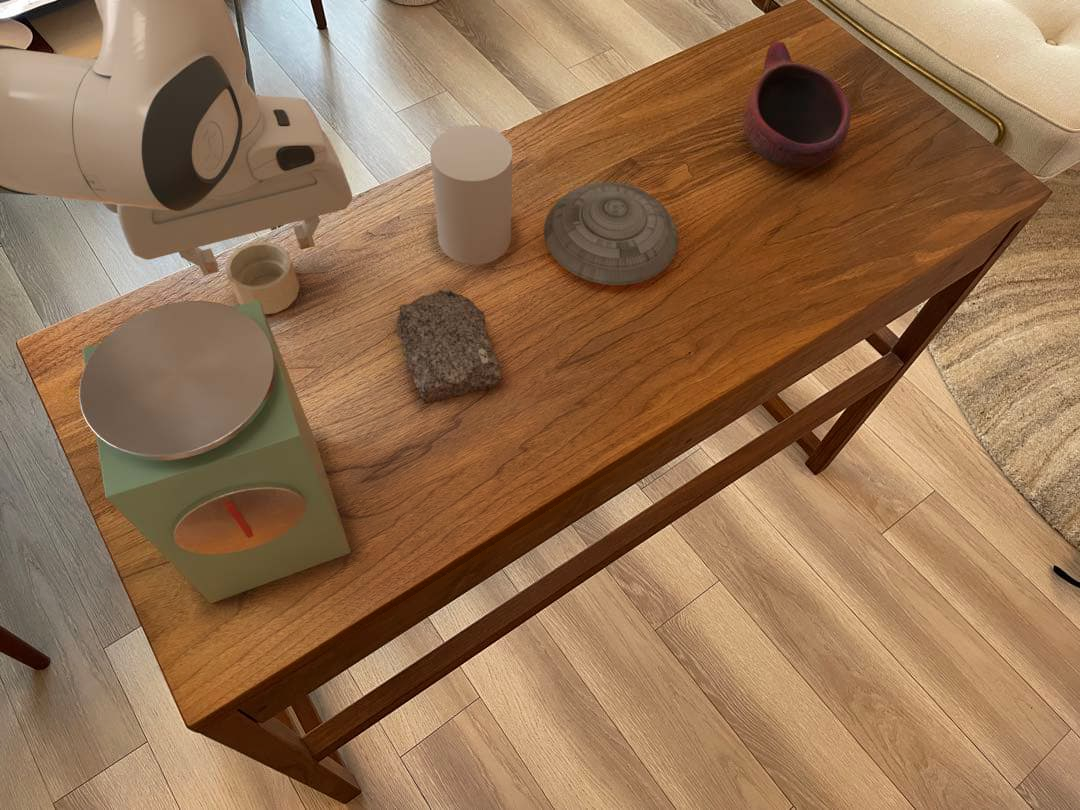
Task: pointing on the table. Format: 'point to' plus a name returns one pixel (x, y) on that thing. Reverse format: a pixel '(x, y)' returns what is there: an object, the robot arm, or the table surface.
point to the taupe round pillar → (472, 193)
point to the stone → (447, 346)
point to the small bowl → (263, 276)
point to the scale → (210, 446)
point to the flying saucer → (611, 234)
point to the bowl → (795, 113)
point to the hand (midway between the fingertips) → (259, 256)
